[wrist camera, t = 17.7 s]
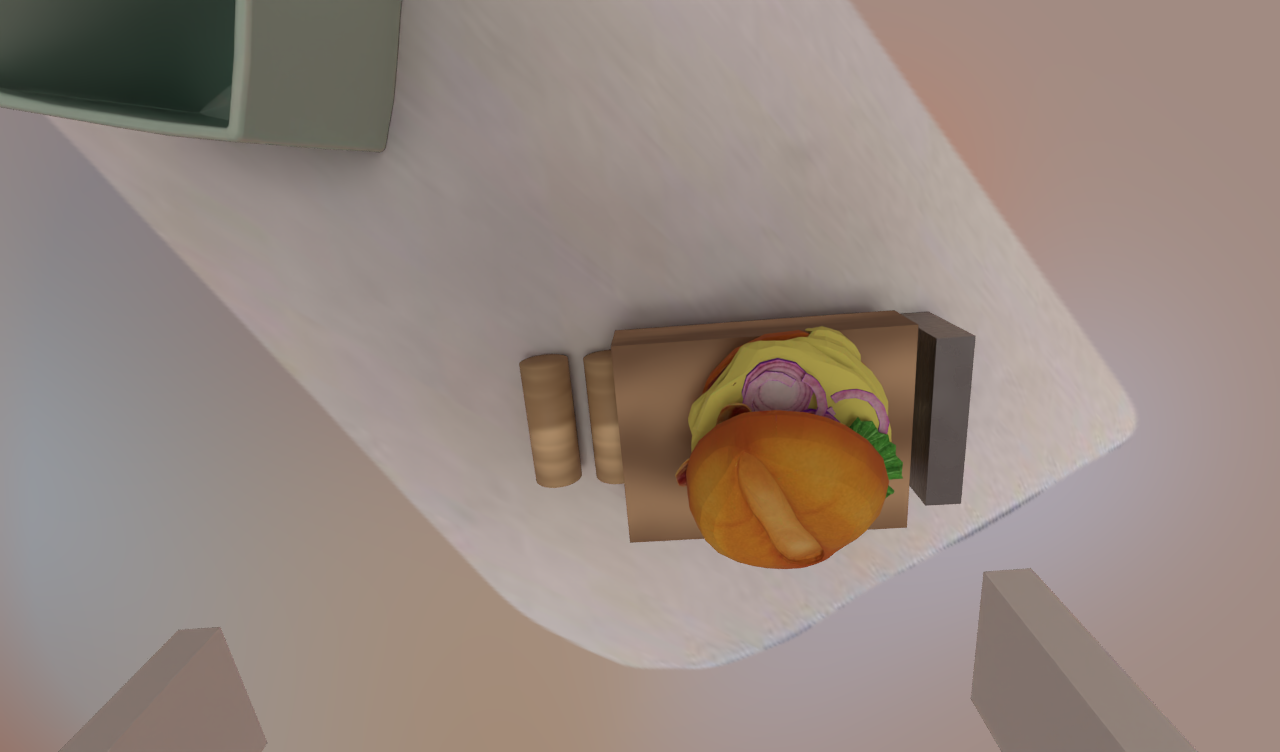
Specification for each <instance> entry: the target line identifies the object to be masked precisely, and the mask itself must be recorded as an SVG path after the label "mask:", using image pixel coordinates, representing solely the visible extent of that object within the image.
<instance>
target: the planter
mask: <svg viewBox="0 0 1280 752" xmlns="http://www.w3.org/2000/svg"><path fill="white" fill-rule="evenodd" d="M401 2H402V0H0V107H1V108H7V109H13V110H19V111H25V112H31V113H37V114H43V115H49V116H55V117H61V118H67V119H72V120H78V121H84V122H90V123H95V124H101V125H107V126H113V127H119V128H125V129H131V130H137V131H143V132H150V133H156V134H162V135H168V136H178V137H188V138H198V139H208V140H219V141H229V142H240V143H255V144H269V145H281V146H293V147H305V148H317V149H333V150H353V151H369V152H382V151H383V150H384V149H385V146H386V140H387V135H388V129H389V124H390V118H391V112H392V107H393V101H394V89H395V78H396V67H397V55H398V40H399V25H400V11H401Z"/></svg>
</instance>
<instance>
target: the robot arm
mask: <svg viewBox="0 0 1280 752" xmlns="http://www.w3.org/2000/svg"><path fill="white" fill-rule="evenodd" d="M971 700H972V702H973V704H974V705H975V707H976V709H977V710H978V712H979V714H980V715H981V717H982V719H983V721H984V723H985V724H986V726H987V728H988V729H989V731H990V733H991V734H992V736H993V738H994V739H995V741H996V743H997V745H998V747H999V748H1000V750H1001V752H1198V751H1197V750H1196V749H1195V748H1194V747H1193V746H1192V745H1191V743H1190V742H1189V741H1188V740H1187V739H1186V738H1185V737H1184V736H1183V735H1182V734H1181V732H1180V731H1179V730H1178V729H1177V728H1176V727H1175V726H1174V725H1173V724H1172V722H1171V721H1170V720H1169V719H1168V718H1167V717H1166V716H1165V715H1164V714H1163V713H1162V711H1161V710H1160V709H1159V708H1158V707H1157V706H1156V705H1155V704H1154V703H1153V702H1152V701H1151V699H1150V698H1149V697H1148V696H1147V695H1146V694H1145V693H1144V692H1143V691H1142V690H1141V689H1140V688H1139V686H1138V685H1137V684H1136V683H1135V682H1134V681H1133V680H1132V679H1131V677H1130V676H1129V675H1128V674H1127V673H1126V672H1125V671H1124V670H1123V669H1122V668H1121V667H1120V666H1119V664H1118V663H1117V662H1116V661H1115V660H1114V659H1113V658H1112V657H1111V655H1109V653H1108V652H1107V651H1106V650H1105V649H1104V648H1103V647H1102V646H1101V644H1099V642H1098V641H1097V640H1096V639H1095V638H1094V637H1093V636H1092V635H1091V633H1090V632H1089V631H1088V630H1087V629H1086V628H1085V627H1084V626H1083V625H1082V624H1081V623H1080V622H1079V620H1078V619H1077V618H1076V617H1075V616H1074V615H1073V614H1072V613H1071V612H1070V610H1069V609H1068V608H1067V607H1066V606H1065V605H1064V604H1063V603H1062V602H1061V601H1060V600H1059V598H1058V597H1057V596H1056V595H1055V594H1054V593H1053V592H1052V591H1051V590H1050V589H1049V587H1048V586H1047V585H1046V584H1045V583H1044V582H1043V581H1042V580H1041V579H1040V577H1039V576H1038V575H1037V574H1036V573H1035V572H1034V571H1033V570H1032V569H1031V568H1028V569H1014V570H1000V571H986V572H984V573H983V583H982V592H981V602H980V612H979V623H978V633H977V643H976V653H975V663H974V672H973V683H972V692H971ZM266 744H267V740H266V738H265V735H264V733H263V731H262V728H261V726H260V723H259V721H258V718H257V716H256V714H255V711H254V709H253V706H252V704H251V701H250V699H249V696H248V694H247V691H246V689H245V687H244V684H243V682H242V679H241V677H240V674H239V672H238V669H237V667H236V665H235V662H234V659H233V657H232V655H231V652H230V650H229V647H228V645H227V643H226V640H225V637H224V635H223V633H222V630H221V628H220V627H212V628H198V629H185V630H178V631H177V632H176V633H175V634H174V635H173V636H172V637H171V638H170V639H169V640H168V641H167V642H166V643H165V644H164V645H163V646H162V647H161V648H160V649H159V650H158V651H157V652H156V653H155V654H154V655H153V656H152V657H151V658H150V659H149V660H148V661H147V662H146V663H145V664H144V665H143V666H142V667H141V668H140V670H138V671H137V673H135V675H134V676H133V677H132V678H131V679H130V680H129V681H128V682H127V683H126V684H125V685H124V686H123V687H122V688H121V689H120V690H119V691H118V692H117V693H116V694H115V695H114V696H113V697H112V698H111V699H110V700H109V701H108V702H107V703H106V704H105V705H104V706H103V707H102V708H101V709H100V710H99V711H98V712H97V713H96V714H95V715H94V716H93V717H92V718H91V719H90V720H89V721H88V722H87V723H86V724H85V725H84V726H83V727H82V728H81V729H80V730H79V731H78V732H77V733H76V734H75V735H74V736H73V737H72V738H71V739H70V740H69V741H68V742H67V743H66V744H65V745H64V746H63V747H62V748H61V749H60V750H59V751H58V752H262V750H263V749H264V747H265V746H266Z"/></svg>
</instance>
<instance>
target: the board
mask: <svg viewBox="0 0 1280 752" xmlns="http://www.w3.org/2000/svg"><path fill="white" fill-rule="evenodd" d="M820 326H823V327H827V328H830V329H833V330H837V331H840V332H841V333H842V334H843V335H844V336H845V337H846V338H848V339H849V340H850V341H851V342H852V343H853V344H855V346H856V348H857V349H858V351H859V353H860V354H861V362H862V363H864V364H865V366H866V367H868V368H869V369H870V370H871V371H872V372H873V374H874V375H875V377H876V378H877V379H878V381H879V382H880V384H881V385H882V387H883V390H884V392H885V395H886V397H887V400H888V419H889V423H890V427H891V442H892V443H893V444H895V445H896V456H897V457H898V458H899V459H900V460H901V461H902V462H903V468H902V476H903V479H892V480H889V486H890V487H891V488H892V489H893V490H894V493H893V494H891V495H889V496H888V497H887V498H886V499H885V501H884V504H883V507H882V509H881V512H880V515H879V516H878V517H877V518H876V520H875V521H874V522H873V523H872V524H871V526H870V527H869V528H868V529H867V530H869V529H887V528H905V527H907V515H908V498H909V480H910V463H911V446H912V429H913V411H914V394H915V377H916V360H917V342H918V324H917V323H915V322H913V321H911V320H910V319H908V318H906V317H905V316H903V315H901V314H900V313H898V312H896V311H895V310H892V311H878V312H864V313H851V314H837V315H823V316H809V317H795V318H782V319H768V320H754V321H740V322H726V323H713V324H699V325H685V326H671V327H657V328H644V329H630V330H616V331H615V333H614V337H613V340H612V344H611V354H612V364H613V374H614V384H615V394H616V404H617V414H618V424H619V434H620V444H621V454H622V465H623V475H624V485H625V495H626V505H627V515H628V525H629V535H630V543H631V542H649V541H668V540H686V539H704V537H703V535H702V533H701V532H700V530H699V528H698V526H697V524H696V522H695V520H694V517H693V515H692V513H691V511H690V507H689V501H688V494H687V486H685V487H682V486H679V485H678V483H677V480H676V476H675V475H676V472H677V470H678V469H679V468H680V466H681V465H682V464H683V463H684V462H685V461H686V460H687V459H689V458H690V455H691V441H692V433H691V430H690V427H689V422H688V417H689V413H690V410H691V406H692V404H693V403H694V402H695V401H696V400H697V399H698V398H699V397H700V396H701V395H702V393H703V390H704V387H705V384H706V381H707V379H708V377H709V375H710V374H711V372H712V371H713V370H714V369H715V368H716V367H717V366H718V365H719V364H720V363H721V362H722V361H723V360H724V359H725V358H726V357H727V356H728V355H729V354H730V353H731V352H732V351H733V350H734V349H735V348H737V347H739V346H741V345H743V344H745V343H748V342H750V341H752V340H754V339H756V338H758V337H760V336H762V335H764V334H769V333H778V332H787V331H795V330H800V331H804V332H807V331H806V330H805V329H807V328H816V327H820ZM807 333H810V332H807Z"/></svg>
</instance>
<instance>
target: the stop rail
mask: <svg viewBox="0 0 1280 752" xmlns="http://www.w3.org/2000/svg"><path fill="white" fill-rule="evenodd" d="M901 315H903V316H905V317H906V318H908V319H910V320H911V321H913V322H915V323H917V324H918V342H917V360H916V377H915V394H914V411H913V429H912V446H911V463H910V480H909V486H910V487H911V488H912V489H913V491H914V492H915V493H916V494H917V496H918V497H919V498H920V499H921V501H922V502H923V503H924V504H925V506H926V505H944V504H961V496H962V484H963V473H964V461H965V450H966V438H967V427H968V415H969V404H970V392H971V381H972V370H973V358H974V347H975V335H973V334H971V333H969V332H967V331H965V330H963V329H961V328H959V327H957V326H955V325H953V324H951V323H949V322H948V321H946V320H944V319H942V318H940V317H938V316H936V315H934V314H932V313H930V312H918V313H904V314H901Z"/></svg>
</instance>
